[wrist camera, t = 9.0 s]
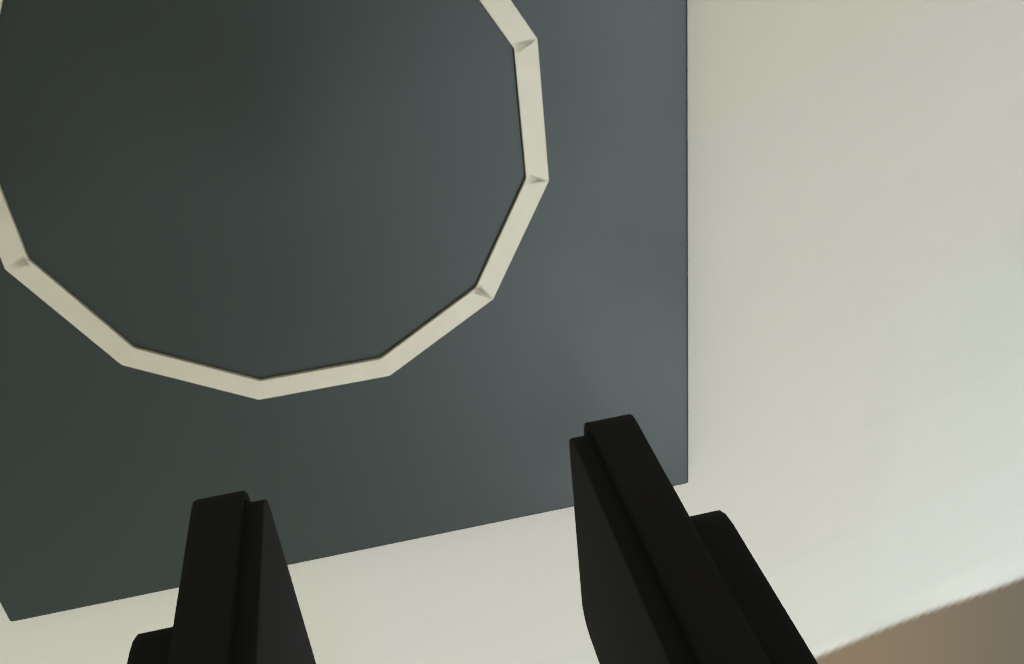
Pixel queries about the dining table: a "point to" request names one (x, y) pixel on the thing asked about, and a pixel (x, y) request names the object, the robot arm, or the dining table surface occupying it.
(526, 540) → the dining table surface
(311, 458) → the slate board
